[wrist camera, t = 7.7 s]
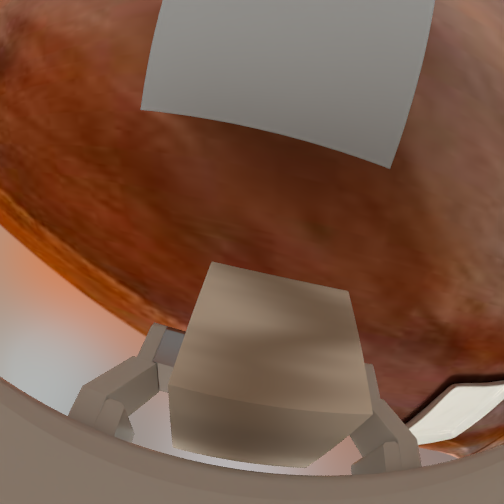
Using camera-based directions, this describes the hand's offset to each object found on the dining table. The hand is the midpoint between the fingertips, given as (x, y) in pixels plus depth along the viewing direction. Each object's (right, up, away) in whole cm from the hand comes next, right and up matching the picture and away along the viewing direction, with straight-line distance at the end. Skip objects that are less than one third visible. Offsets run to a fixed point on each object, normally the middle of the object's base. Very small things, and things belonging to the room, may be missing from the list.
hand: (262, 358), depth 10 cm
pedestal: (+3, +22, +8) cm, 24 cm away
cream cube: (0, +1, +2) cm, 2 cm away
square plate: (+46, -32, +38) cm, 67 cm away
